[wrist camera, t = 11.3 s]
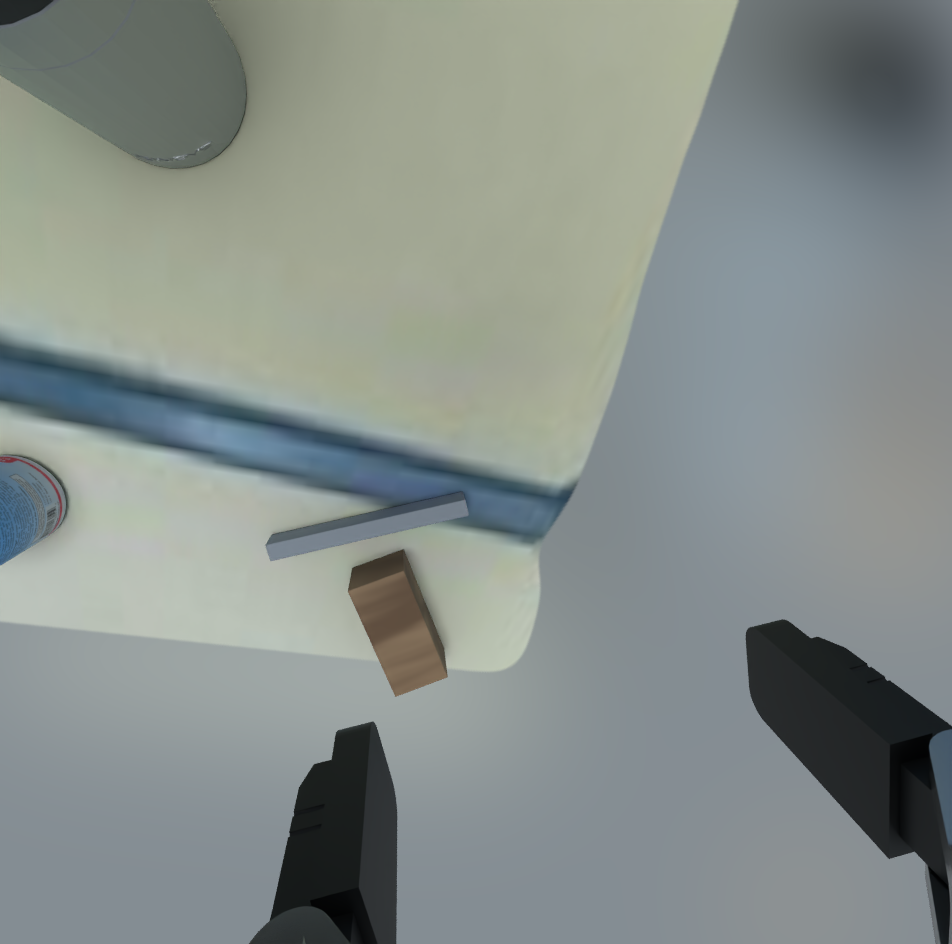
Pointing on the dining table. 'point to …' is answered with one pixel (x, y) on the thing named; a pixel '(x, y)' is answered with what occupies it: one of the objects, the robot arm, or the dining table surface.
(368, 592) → the walnut block
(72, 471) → the dining table surface
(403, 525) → the rail
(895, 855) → the robot arm
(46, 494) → the pill bottle
